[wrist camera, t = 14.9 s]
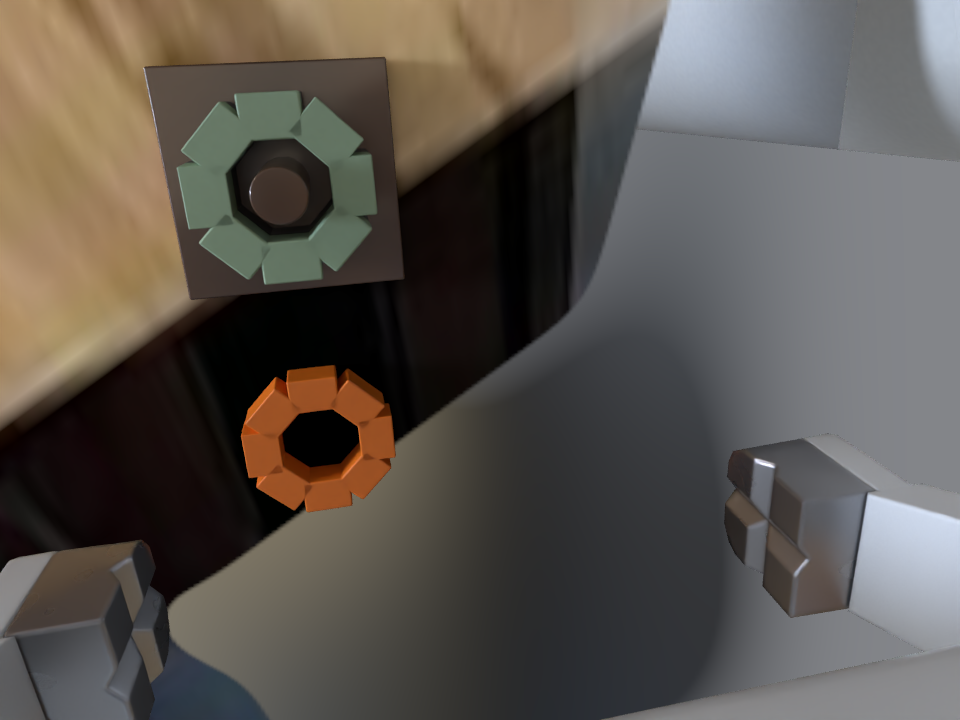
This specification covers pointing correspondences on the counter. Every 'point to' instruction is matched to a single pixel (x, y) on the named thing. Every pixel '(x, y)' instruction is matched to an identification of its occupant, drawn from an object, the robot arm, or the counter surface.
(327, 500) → the orange ring
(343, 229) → the sage ring
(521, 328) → the counter surface
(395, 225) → the spindle
